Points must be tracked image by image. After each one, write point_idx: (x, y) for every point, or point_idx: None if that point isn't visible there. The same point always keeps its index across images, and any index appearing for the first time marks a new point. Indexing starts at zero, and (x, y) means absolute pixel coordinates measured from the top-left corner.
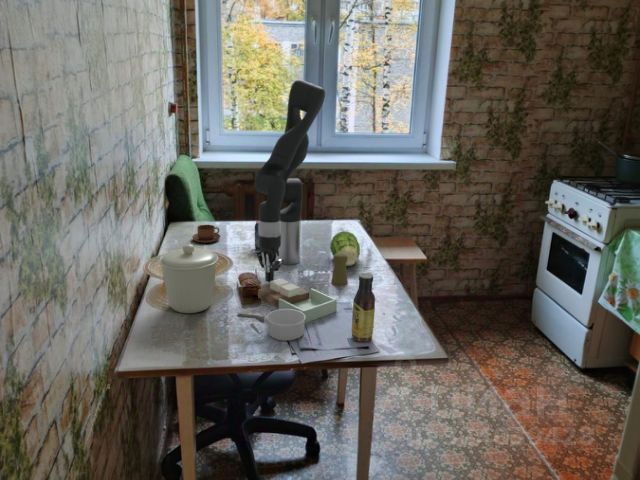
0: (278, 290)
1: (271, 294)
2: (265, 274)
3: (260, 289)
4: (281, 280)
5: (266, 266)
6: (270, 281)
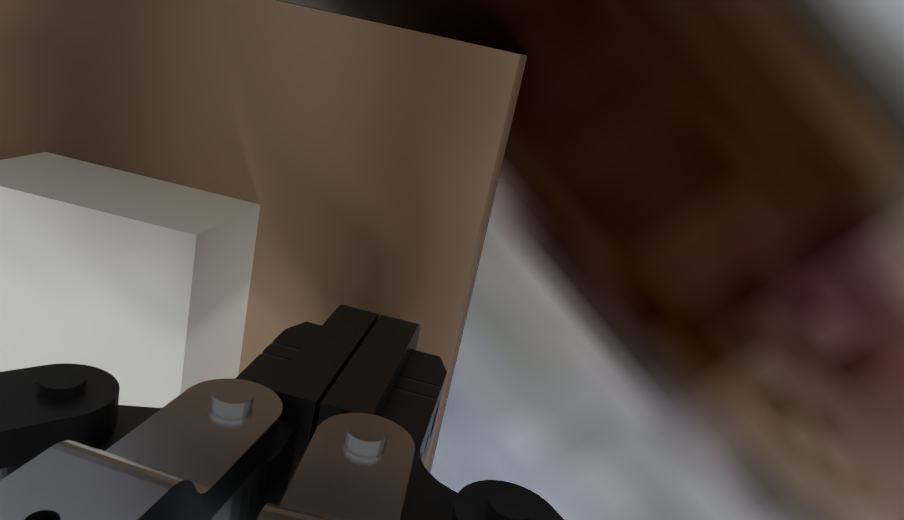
0: (23, 162)
1: (52, 4)
2: (429, 404)
3: (345, 57)
4: None
5: (288, 500)
6: (184, 237)
